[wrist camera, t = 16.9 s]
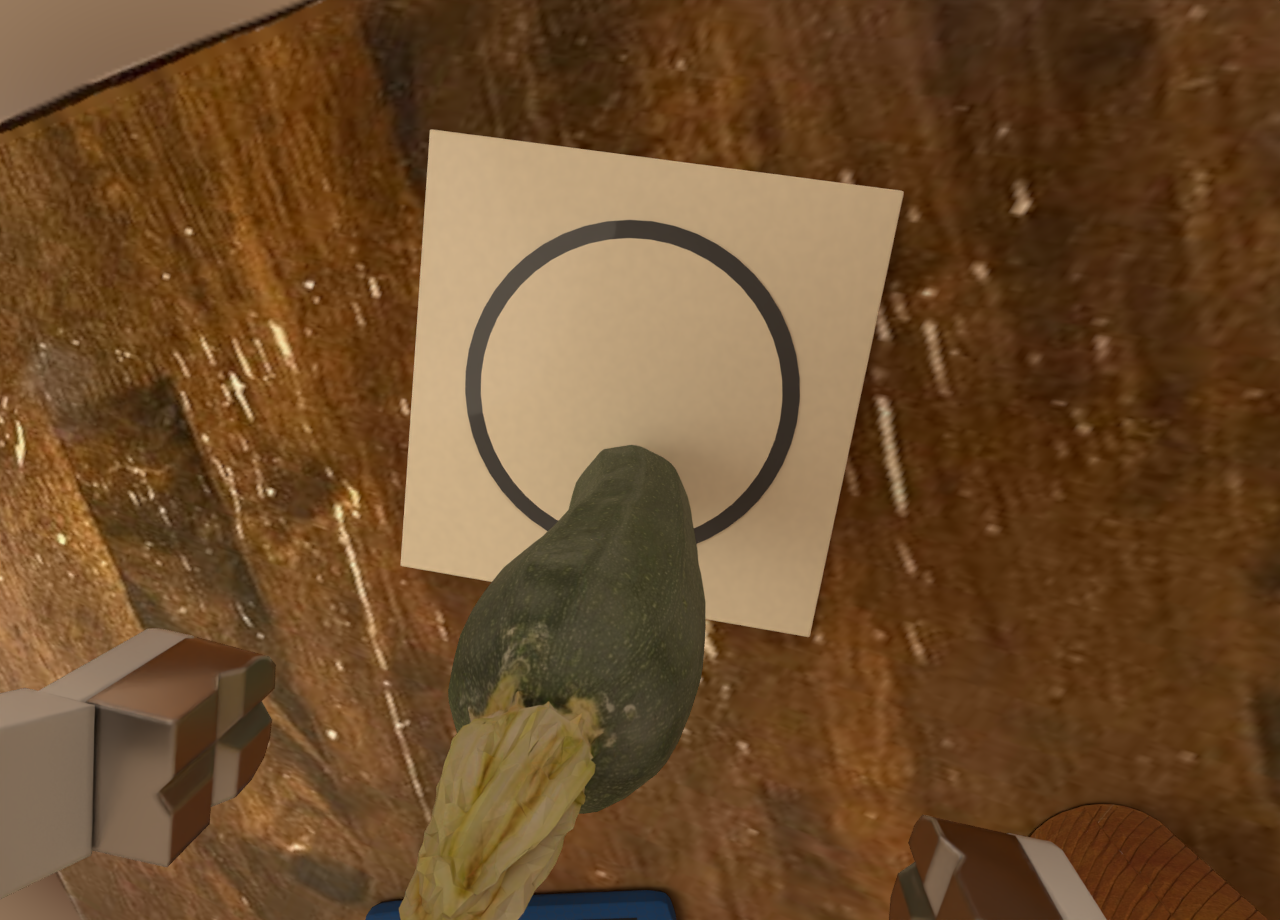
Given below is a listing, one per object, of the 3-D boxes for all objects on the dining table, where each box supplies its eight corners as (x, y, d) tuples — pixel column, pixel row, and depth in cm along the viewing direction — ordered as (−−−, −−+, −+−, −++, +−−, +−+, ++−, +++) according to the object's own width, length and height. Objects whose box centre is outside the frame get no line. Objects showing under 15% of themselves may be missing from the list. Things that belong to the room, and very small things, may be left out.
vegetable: (649, 395, 25) (437, 699, 6) (735, 480, 26) (802, 1031, 6) (565, 479, 26) (148, 978, 7) (649, 560, 27) (476, 1252, 7)
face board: (435, 132, 25) (427, 127, 24) (899, 193, 24) (905, 189, 23) (406, 561, 29) (398, 567, 28) (807, 631, 27) (810, 640, 27)
